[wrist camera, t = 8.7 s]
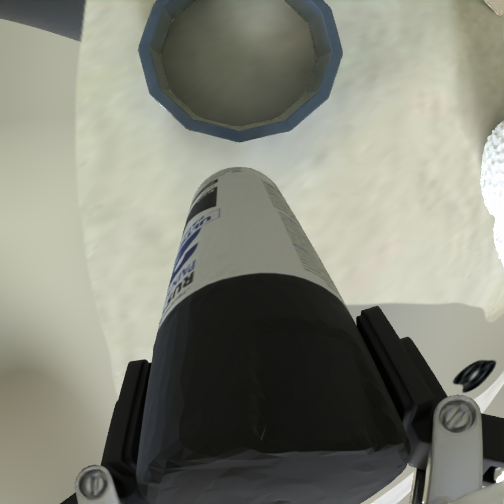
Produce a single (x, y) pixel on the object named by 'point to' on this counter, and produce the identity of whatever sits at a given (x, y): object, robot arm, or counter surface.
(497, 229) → the white textured rounded lump
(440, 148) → the counter surface
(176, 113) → the faceted blue ring
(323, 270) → the spray can
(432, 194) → the counter surface
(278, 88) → the counter surface
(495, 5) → the spatula
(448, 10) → the counter surface
